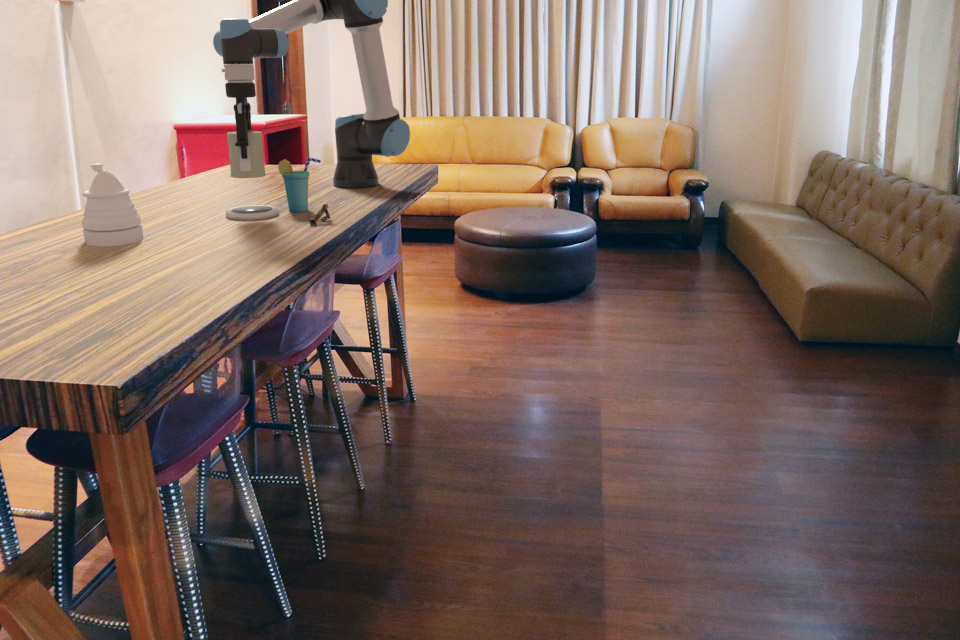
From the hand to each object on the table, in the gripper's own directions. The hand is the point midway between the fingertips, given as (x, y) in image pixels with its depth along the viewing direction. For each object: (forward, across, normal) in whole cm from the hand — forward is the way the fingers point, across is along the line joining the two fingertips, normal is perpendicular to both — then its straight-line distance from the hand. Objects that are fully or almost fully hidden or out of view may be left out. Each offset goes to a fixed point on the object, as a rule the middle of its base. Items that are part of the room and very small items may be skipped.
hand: (247, 168), depth 219 cm
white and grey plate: (+13, 0, 0) cm, 13 cm away
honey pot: (+13, +26, -29) cm, 42 cm away
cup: (+13, -4, +13) cm, 19 cm away
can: (+2, 0, 0) cm, 2 cm away
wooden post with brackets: (+13, +14, +19) cm, 27 cm away
